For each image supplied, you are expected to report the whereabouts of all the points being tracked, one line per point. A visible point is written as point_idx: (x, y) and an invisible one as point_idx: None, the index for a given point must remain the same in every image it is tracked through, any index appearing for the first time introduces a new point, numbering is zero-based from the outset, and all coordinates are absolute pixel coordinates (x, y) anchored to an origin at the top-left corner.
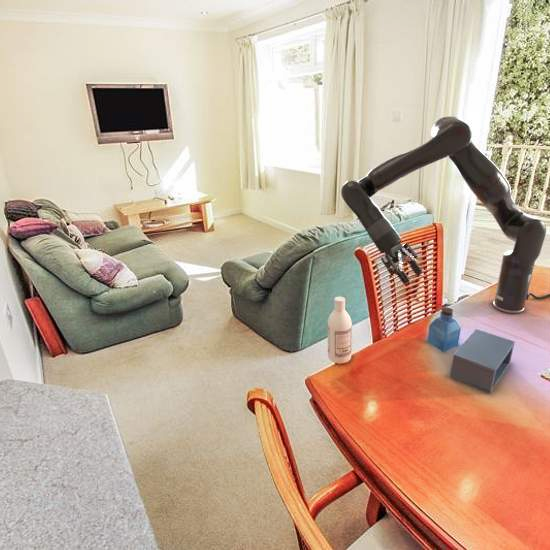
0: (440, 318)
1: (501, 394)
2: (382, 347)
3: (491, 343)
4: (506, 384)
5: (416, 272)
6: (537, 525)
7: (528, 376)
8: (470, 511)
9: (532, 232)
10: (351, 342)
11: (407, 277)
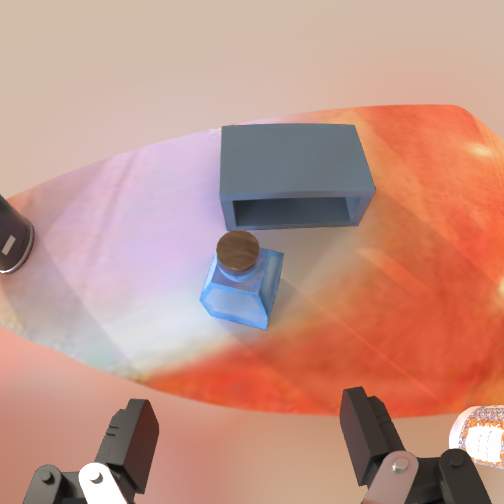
0: (246, 282)
1: None
2: None
3: (265, 150)
4: None
5: (152, 434)
6: (453, 108)
7: None
8: (490, 144)
9: None
10: (484, 416)
11: (362, 405)
